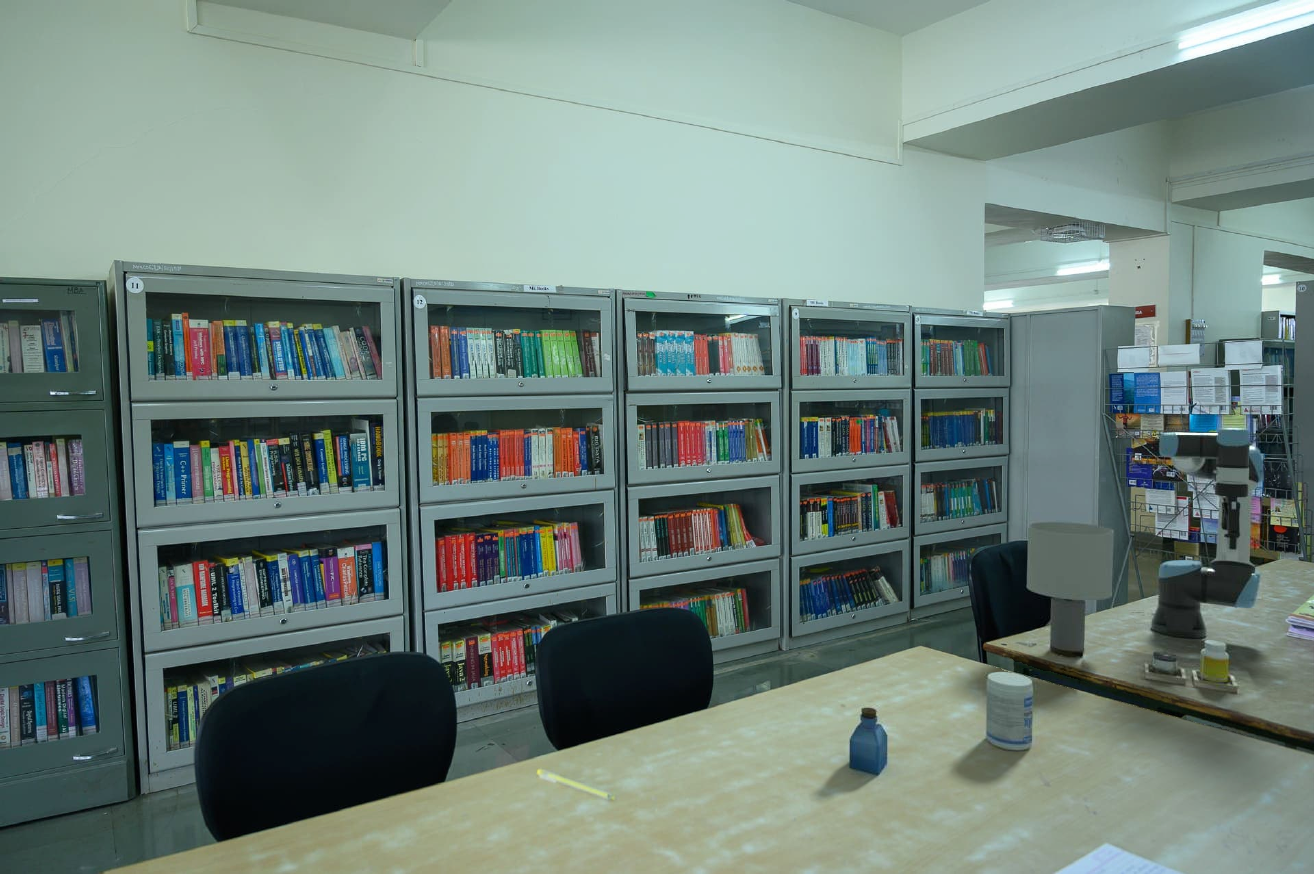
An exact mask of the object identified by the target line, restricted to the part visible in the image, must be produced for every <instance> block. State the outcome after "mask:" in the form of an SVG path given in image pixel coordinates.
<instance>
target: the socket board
mask: <svg viewBox="0 0 1314 874" xmlns="http://www.w3.org/2000/svg"><path fill="white" fill-rule="evenodd" d="M1140 675H1141V676H1140V677H1141V678H1140V679H1141V680H1146V681H1152V682H1157V683H1165V684H1171V685H1177V686H1182V687H1183V686H1184V687H1190V688H1196V689H1197V688H1198V689H1203V690H1211V691H1215V692H1222V693H1229V694H1236V695H1243V693H1242V691H1241V687H1240V685H1239V683H1238V680H1236V679H1235V676H1234V675H1231V674H1228V684H1223V683H1217V682H1210V681H1203V680H1199V676H1200V670H1199V669H1191V673H1186V672H1185V668H1183V667H1178V666H1177V676H1170V675H1164V674H1157V673H1153V663H1148V662H1144V667H1143V666H1140Z"/></svg>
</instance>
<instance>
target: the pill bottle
mask: <svg viewBox="0 0 1314 874" xmlns="http://www.w3.org/2000/svg"><path fill="white" fill-rule="evenodd" d="M1226 650H1227V644H1226V643H1225V642H1223V641H1219V640H1214V639H1212V640H1210V639H1207V640H1204V648H1202V649H1201V650H1200V656H1199V657H1200V658H1199V671H1200V676H1199V680H1203V681H1210V682H1217V683H1223V684H1228V675H1229V669H1230V668H1229V666H1230V664H1229V663H1230V656H1229V653H1228V652H1226Z"/></svg>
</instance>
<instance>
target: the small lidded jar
mask: <svg viewBox="0 0 1314 874" xmlns="http://www.w3.org/2000/svg"><path fill="white" fill-rule="evenodd" d="M1178 656H1179V655H1177V654H1175V653H1173V652H1169V651H1161V650H1160V651H1159V650H1158V651H1153V652H1152V664H1153V673H1157V674H1164V675H1170V676H1177V667H1178V659H1179V657H1178Z"/></svg>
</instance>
